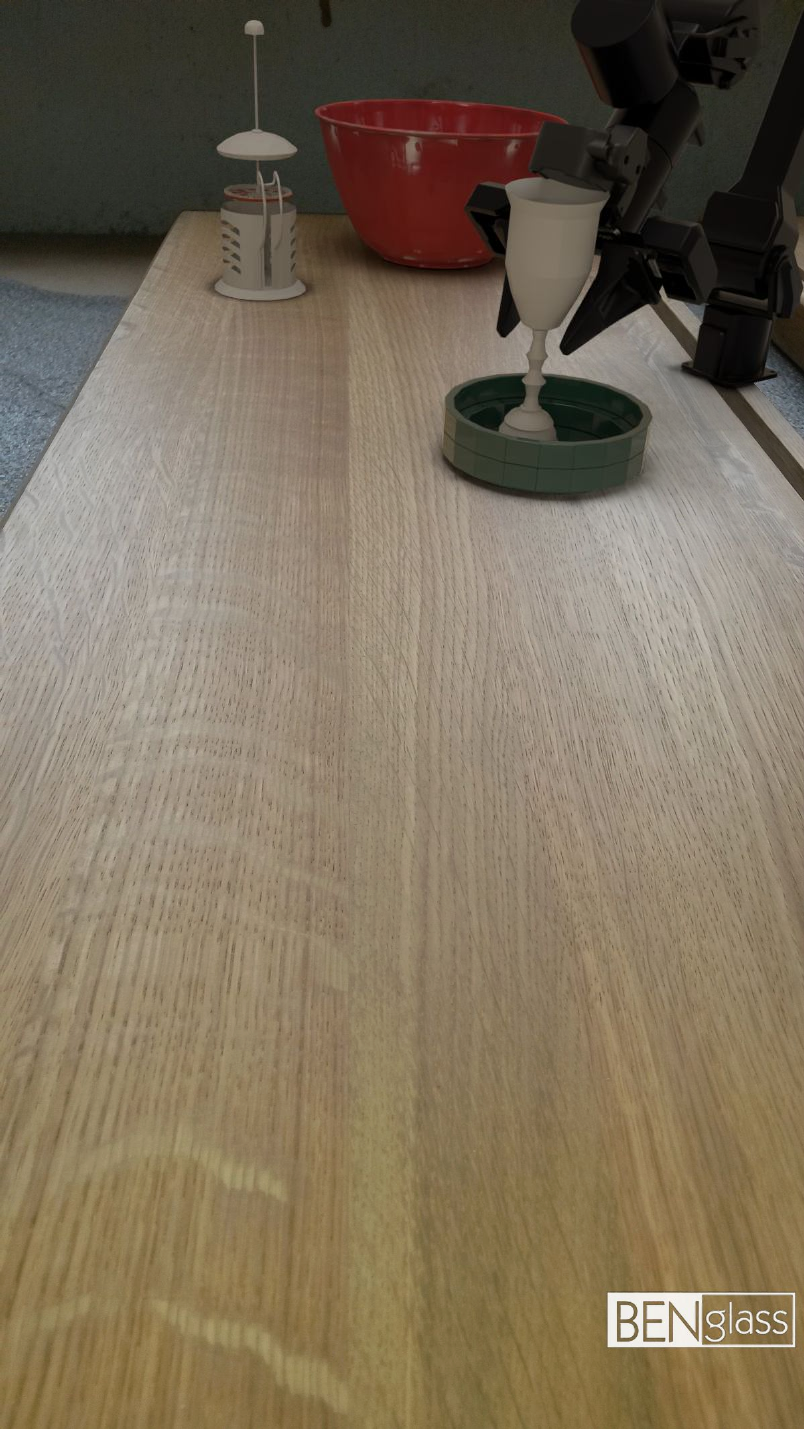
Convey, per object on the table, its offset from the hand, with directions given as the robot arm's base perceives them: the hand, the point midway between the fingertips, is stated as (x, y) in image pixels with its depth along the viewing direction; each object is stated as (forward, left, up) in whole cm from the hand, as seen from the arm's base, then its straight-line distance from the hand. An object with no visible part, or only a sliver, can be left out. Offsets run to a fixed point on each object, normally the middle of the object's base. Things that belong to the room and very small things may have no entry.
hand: (530, 342), depth 86 cm
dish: (-3, -1, -10) cm, 10 cm away
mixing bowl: (-34, -56, -10) cm, 66 cm away
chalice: (-1, -1, -8) cm, 8 cm away
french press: (-8, -52, -10) cm, 53 cm away
